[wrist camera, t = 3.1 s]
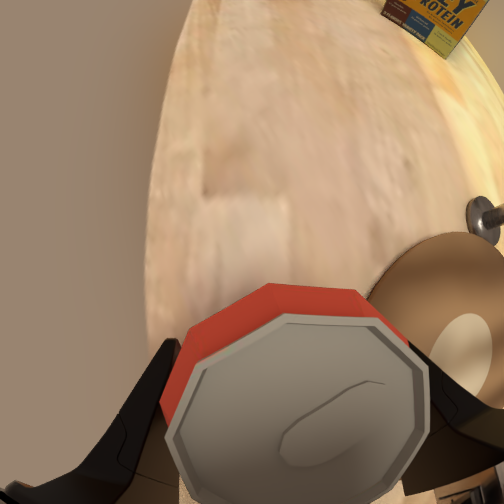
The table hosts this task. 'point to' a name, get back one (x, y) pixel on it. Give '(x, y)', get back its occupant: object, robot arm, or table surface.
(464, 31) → the protein box
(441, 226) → the table surface
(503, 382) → the lazy susan
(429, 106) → the table surface
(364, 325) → the beverage can
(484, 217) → the metal door stop
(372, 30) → the table surface
